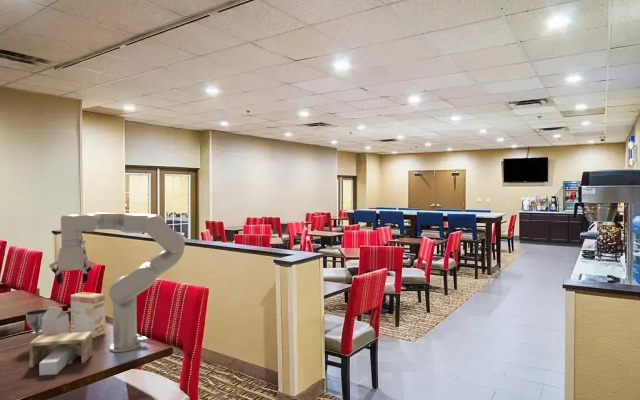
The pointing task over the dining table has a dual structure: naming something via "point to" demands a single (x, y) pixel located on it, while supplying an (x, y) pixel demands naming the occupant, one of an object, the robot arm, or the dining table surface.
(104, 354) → the dining table surface
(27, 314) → the wine glass
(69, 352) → the white rectangular block
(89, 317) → the coffeecake box
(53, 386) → the dining table surface
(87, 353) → the beige wooden bench
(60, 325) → the milk carton
